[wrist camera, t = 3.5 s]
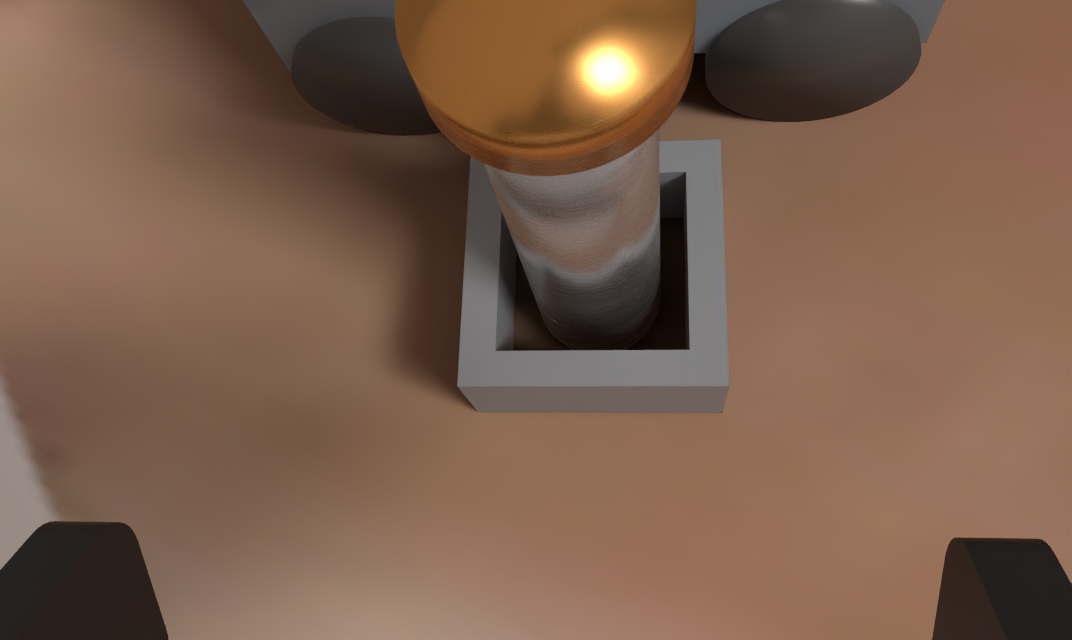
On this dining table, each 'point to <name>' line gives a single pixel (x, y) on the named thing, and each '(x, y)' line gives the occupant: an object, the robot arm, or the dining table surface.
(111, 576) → the robot arm
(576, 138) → the pin
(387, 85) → the grey tray with sleeve
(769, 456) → the dining table surface
